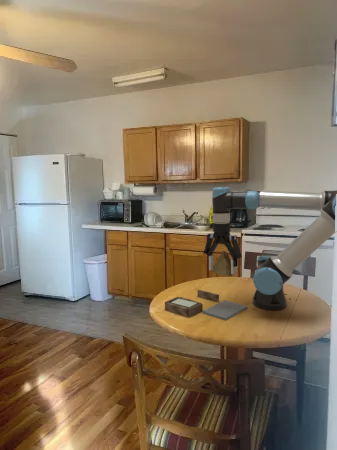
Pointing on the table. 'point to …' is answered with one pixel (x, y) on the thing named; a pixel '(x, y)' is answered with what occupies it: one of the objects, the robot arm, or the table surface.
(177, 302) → the pale grey-green block
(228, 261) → the rock
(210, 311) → the board
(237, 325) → the table surface
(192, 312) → the brown frame and bar
